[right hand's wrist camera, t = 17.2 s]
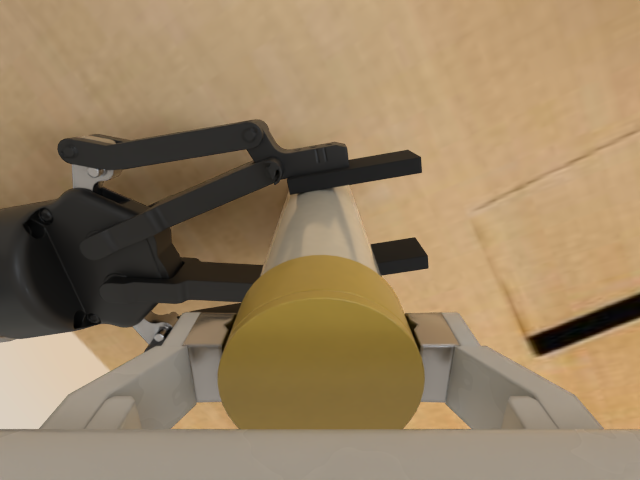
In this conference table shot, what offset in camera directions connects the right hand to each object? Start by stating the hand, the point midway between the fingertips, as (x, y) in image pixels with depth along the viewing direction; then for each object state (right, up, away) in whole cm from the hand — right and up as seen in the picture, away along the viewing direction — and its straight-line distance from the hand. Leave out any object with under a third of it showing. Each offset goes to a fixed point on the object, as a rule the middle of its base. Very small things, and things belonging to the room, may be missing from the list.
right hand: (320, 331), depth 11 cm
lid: (0, -1, -2) cm, 2 cm away
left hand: (+5, +4, +9) cm, 11 cm away
